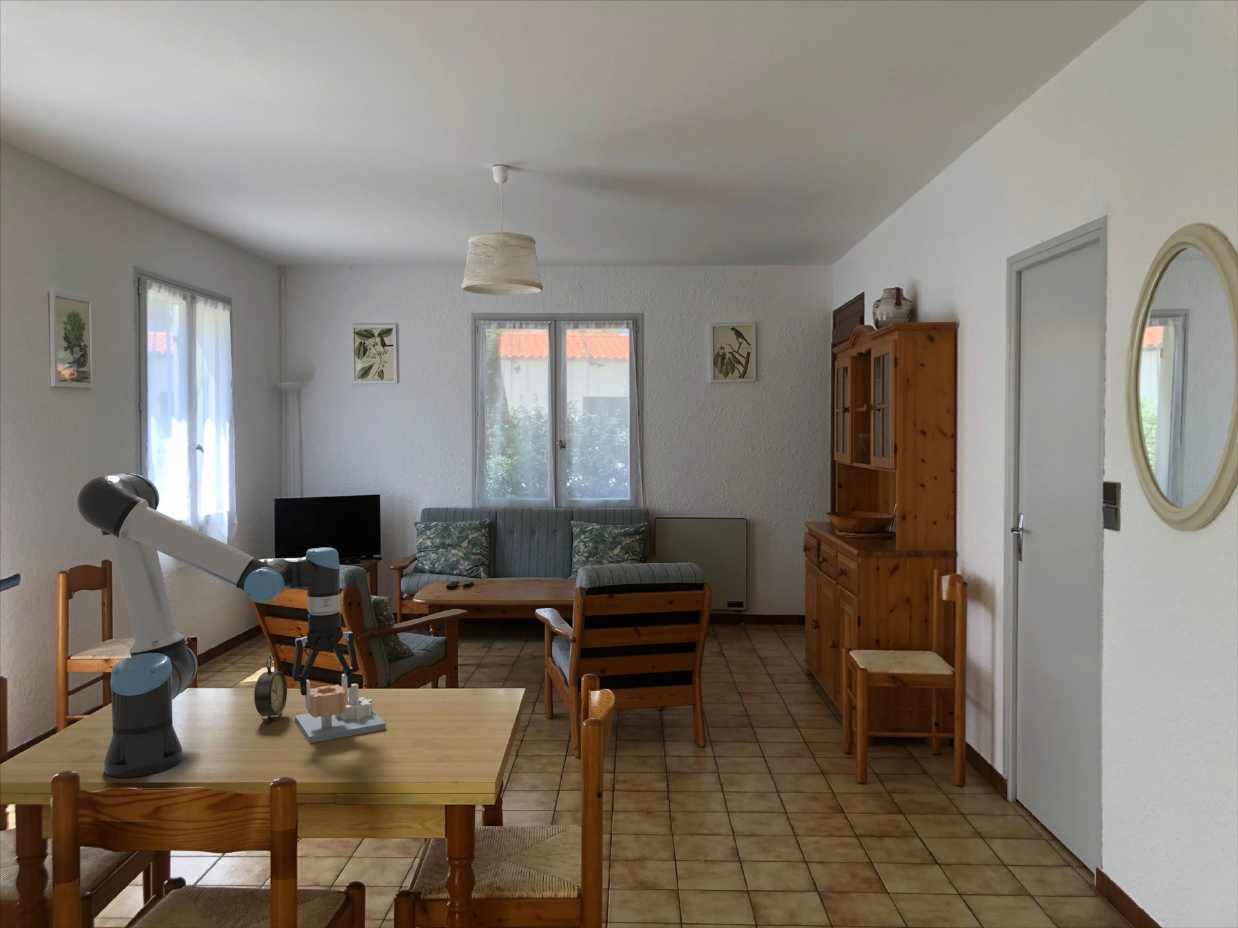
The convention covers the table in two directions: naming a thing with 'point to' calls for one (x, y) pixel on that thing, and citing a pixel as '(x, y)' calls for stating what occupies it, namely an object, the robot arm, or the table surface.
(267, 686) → the alarm clock
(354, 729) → the gear board
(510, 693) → the table surface
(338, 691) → the loose gear
